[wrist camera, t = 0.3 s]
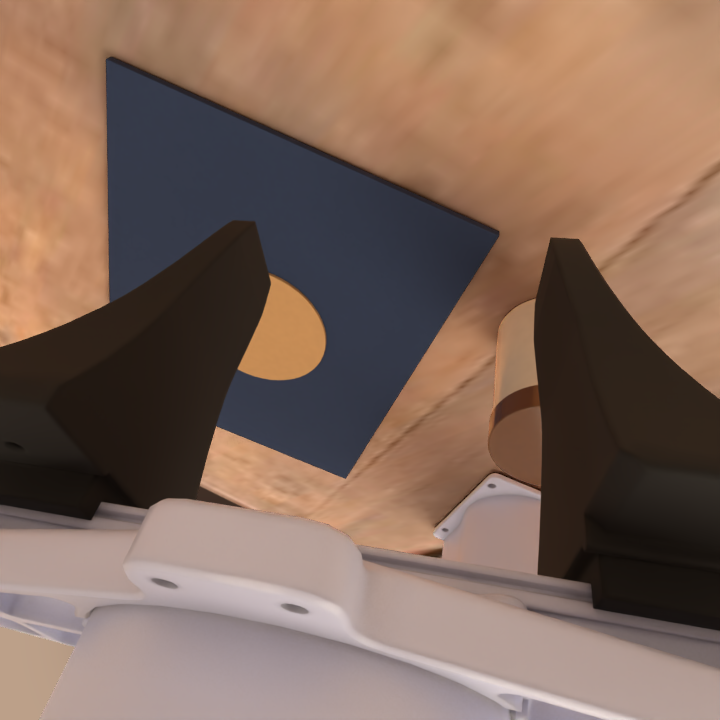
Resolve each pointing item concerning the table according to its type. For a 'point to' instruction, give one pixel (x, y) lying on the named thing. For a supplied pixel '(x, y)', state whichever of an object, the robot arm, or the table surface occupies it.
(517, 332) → the jar
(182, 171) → the desk pad
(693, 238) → the table surface
